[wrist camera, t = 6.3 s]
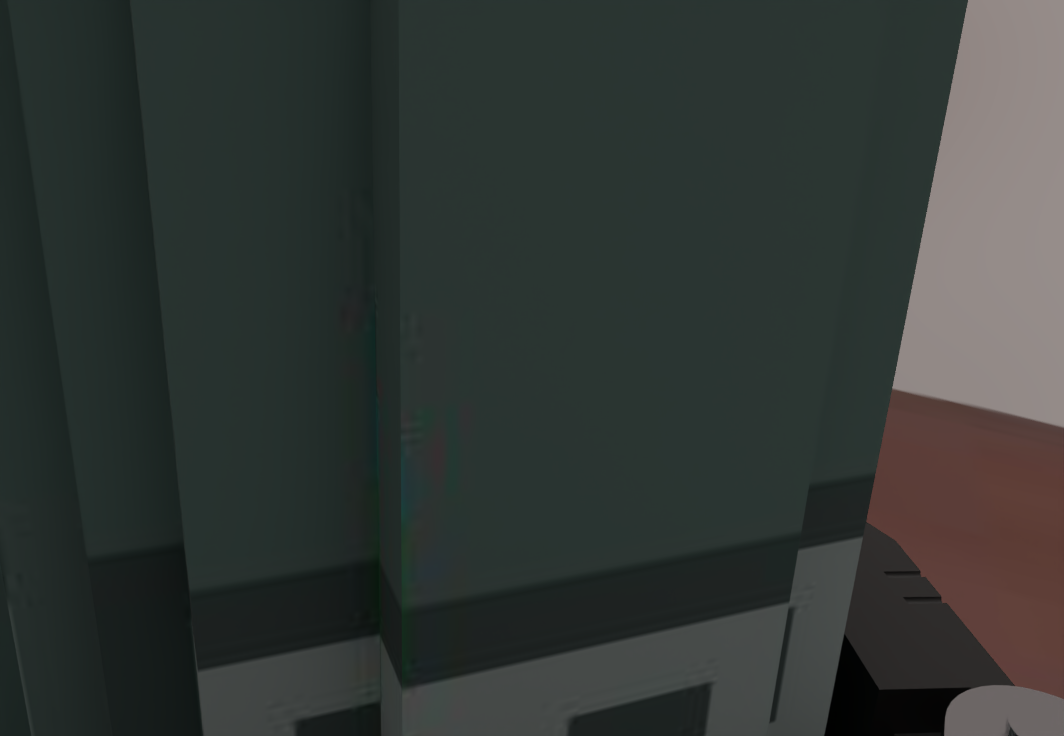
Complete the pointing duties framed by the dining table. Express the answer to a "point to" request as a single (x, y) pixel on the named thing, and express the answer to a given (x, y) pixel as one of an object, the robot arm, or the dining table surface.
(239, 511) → the can
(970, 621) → the dining table surface
